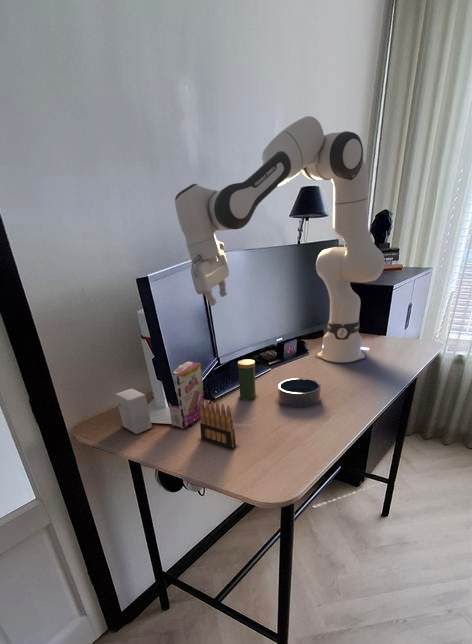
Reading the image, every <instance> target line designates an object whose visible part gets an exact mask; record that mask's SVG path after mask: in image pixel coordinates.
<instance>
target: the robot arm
mask: <svg viewBox="0 0 472 644" xmlns="http://www.w3.org/2000/svg"><path fill="white" fill-rule="evenodd" d="M301 172H302V174H303V175H304V176H305V177H306V178H308V179H310V180H312V181H318V180H319V181H331V182H332V185H333V199H332V200H333V201H332V202H333V204H332V206H333V207H332V210H333V211H332V227H333V230H334V233H335V234H336V235H337V236H338V237H340V238H341V239H342V240H343V242H344V244H345V246H334V247H329V248H325V249H323V250H321V252H319V254H318V255H317V259H316V262H315V270H316V274H317V275H318V277H319V278H320V279H321V280H322V281H323V283H324V285H325V287H326V289H327V291H328V297H329V319H328V321H327V332H326V333H325V334H324V336H323V338H322V345H321V346H322V348H321V351H319V352H318V353H317V355H316V357H317V358H319V359H322V360H325V361H327V362H331V363H351V362H356V361H358V360H363V359H366V355H365V353H364V352H363V350H365V351H369V350H370V348H369V347H364V346H362V341H363V337H362V335H361V334H360V332H359V331H360V327H361V326H360V311H361V298H360V296H359V295H358V294H357V293H356V292H355V291H354V290H353V289H352V288H353V287H352V286H351V283H359V284H360V283H369V282H373V281H377V280H378V279H379V277H381V275H382V273H383V271H384V269H385V256H384V254H383V252H382V251H381V250H380V249H379V248H378V247H377V245H376V244H375V242H374V241H373V238H372V236H371V233H370V230H369V223H368V220H369V219H368V210H369V209H368V207H369V179H368V168H367V163H366V161H365V160H364V147H363V142H362V139H361V137H360V136H359V135H358V134H357V133H356V132H353V131H349V130H345V131H342V132H340V131H338V132H330V133H327V134H324V130H323V127H322V125H321V122H320V121H319V120H318V119H317V118H316V117H314V116H310V115H307V116H304V117H302V118H299V119H297V120H296V121H294V122H292V123H290V125H288V126H287V127H285V128H284V129H282V130H281V131H280V132H279V133H278V134H276V136H275V137H273V138H272V140H271V141H270V142H268V143H267V145H266V147H265V148H264V149H263V151H262V155H261V166H260V167H258V168H257V170H255V171H254V172H253V173H252V174H251V175H250V176H248V178H246V179H245V180H243V181H242V182H237V183H231V184H228V185H226V186H225V187H224V188H222V189H220V190H218V189H211V188H207V187H203V186H201V185H200V184H198V183H192V184H190V185H189V186H187V187H185V188H183V189H182V190H181V191H179V192H178V193H177V194H176V196H175V198H174V206H175V212H176V215H177V220H178V223H179V226H180V230H181V231H182V233H183V235H184V237H185V244H186V248H187V252H188V254H189V257H190V260H191V265H190V266H191V267H190V275H191V280H192V283H193V286H194V290H195V292H196V294H197V295H204V297H205V298H206V300H207V301H208V304H209V306H210V307H213V306H215V305H216V304H217V299H216V297H214V295H213V290H212V289H214V288H215V287H216V286H218V288H219V291H218V293H219V296H220V297H221V298H223V297H226V296H227V295H228V291H227V288H226V287H227V286H226V283H227V282H226V278H228V277H229V275H230V269H229V264H228V260H227V257H226V254H225V252H224V251H225V250H226V249H225V245H224V243H223V242H222V241H219V240H218V239H217V236H216V232H223V231H230V230H239V229H243V228H244V227H246V226H247V225H248V223H249V222H250V221H251V219H252V217H253V215H254V213H255V211H256V209H257V207H258V206H259V204H260V203H261V202H263V200H265V198H266V197H267V196H269V195H270V194H271V193H272V192H273V191H274V190H275V189H277V187H280V186H282V185H284V184H286V183H287V182H289V181H290V180H292V179H294V178H295V177H297V176H298V175H299V174H300V173H301Z"/></svg>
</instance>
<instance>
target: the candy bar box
mask: <svg viewBox="0 0 472 644" xmlns="http://www.w3.org/2000/svg"><path fill="white" fill-rule="evenodd" d="M178 366H179V367H178V368H177V369H176V370H175V371H174V372H173V379H174V385H175V391H176V394H177V396H178V399H179V406H172V405H171V404H170V403H169V402H168V406H169V413H170V420H171V426H172V427H174V428H179V429H182V430H185V429H186V428H188V427H190V426H191V425H193V424H194V423H196V422H197V421H198V420H201V418H200V400H201V398H202V400H203V402H204V406H205V394H204V382H203V373H202V363H201V362H195V361H186V362H184V363H181V364H180V365H178ZM194 419H195V420H194Z"/></svg>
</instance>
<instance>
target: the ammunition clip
mask: <svg viewBox="0 0 472 644" xmlns="http://www.w3.org/2000/svg"><path fill="white" fill-rule="evenodd" d="M209 403H210V404H209ZM204 404H205V406H204ZM199 429H200V438H201V441H203V442H207V443H210V444H213V445H216V446H219V447H222V448H226V449H228V450H233V449H235V448H236V447H237V444H236V434H235V429H234V424H233V417H232V410H231V406H230V405H229V404H227V406H226V407H225V405H224V403H221V406H220V404H219V402H216V403H214V402H213V400H211V401H210V402H209V400H208V399H205V401H204V402H203V400H202V398H201V400H200V423H199Z"/></svg>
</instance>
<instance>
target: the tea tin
mask: <svg viewBox="0 0 472 644" xmlns="http://www.w3.org/2000/svg"><path fill="white" fill-rule="evenodd" d="M237 367H238V368H237V369H238V386H239V398H240V399H241V400H245V401H248V400H254V399H255V398H256V396H257V395H256V361H255V360H254V359H250V358H249V359H247V358H246V359H241V360H238V361H237Z"/></svg>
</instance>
